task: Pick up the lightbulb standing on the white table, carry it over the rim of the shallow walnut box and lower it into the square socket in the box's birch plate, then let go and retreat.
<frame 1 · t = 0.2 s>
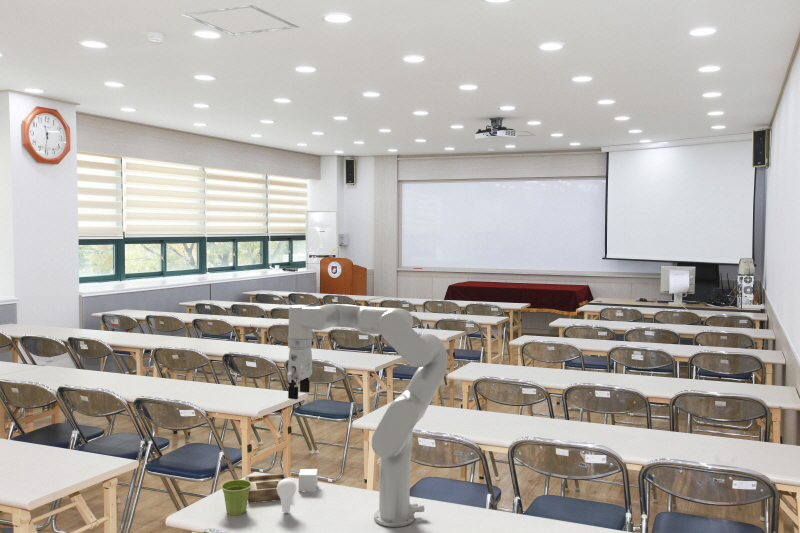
hand: (299, 395, 220), 36 cm above the table, tool pointing down, fingers open, 9 cm apart
lightbulb: (286, 513, 215), on the table
socket box: (267, 493, 231), on the table
plant pot: (236, 512, 216), on the table
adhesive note: (308, 489, 236), on the table
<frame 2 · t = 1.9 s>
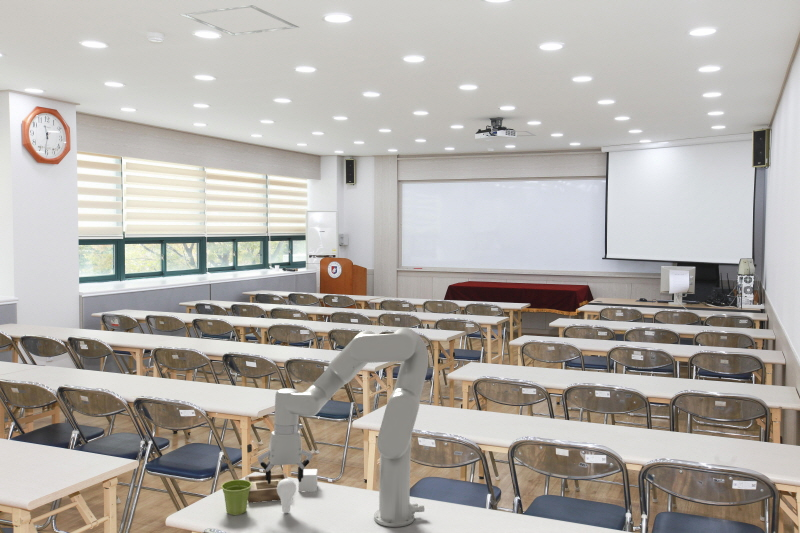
hand: (284, 481, 215), 10 cm above the table, tool pointing down, fingers open, 9 cm apart
nothing on the table moved.
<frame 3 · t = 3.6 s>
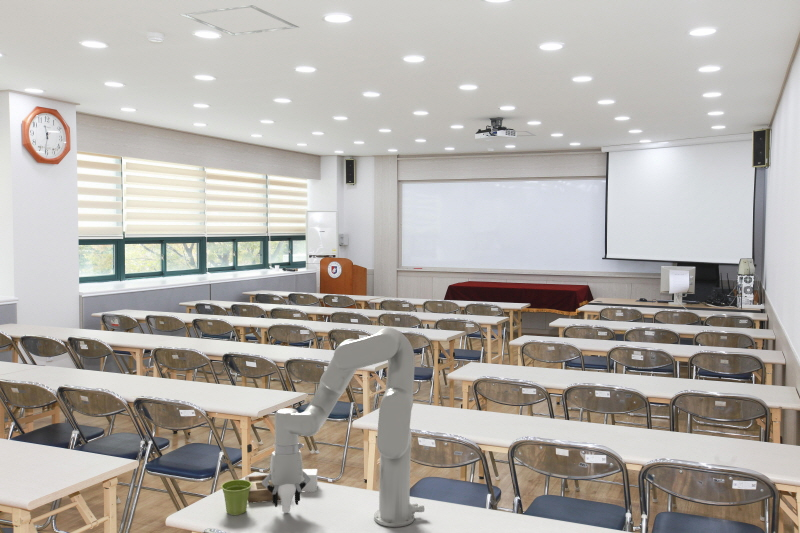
hand: (286, 503, 215), 3 cm above the table, tool pointing down, fingers closed on lightbulb, 5 cm apart
lightbulb: (286, 513, 215), on the table, touching gripper
everything else where it was.
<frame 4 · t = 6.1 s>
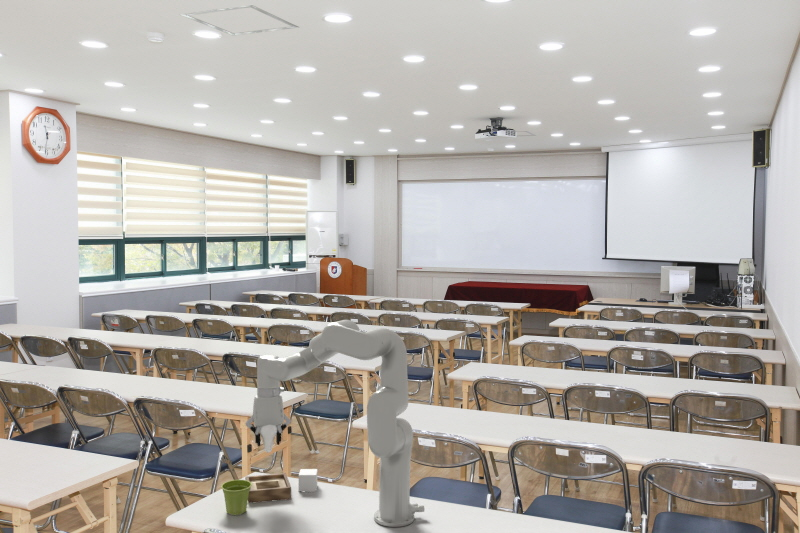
hand: (268, 443, 230), 17 cm above the table, tool pointing down, fingers closed on lightbulb, 5 cm apart
lightbulb: (268, 453, 231), point 14 cm above the table, touching gripper
everything else where it was.
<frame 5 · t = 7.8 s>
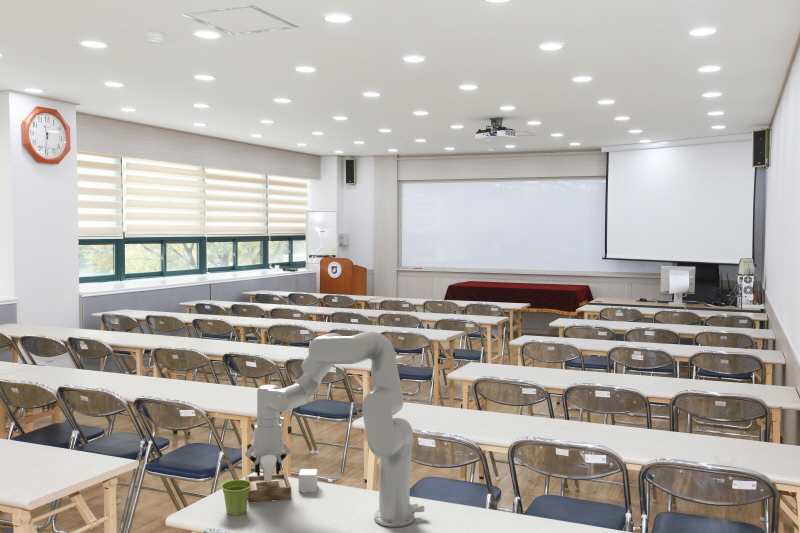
hand: (267, 473, 231), 7 cm above the table, tool pointing down, fingers closed on lightbulb, 5 cm apart
lightbulb: (267, 482, 231), point 4 cm above the table, touching gripper
everything else where it was.
when the fingers open (5 cm above the table, at t = 9.0 s): lightbulb drops 2 cm, resting on socket box.
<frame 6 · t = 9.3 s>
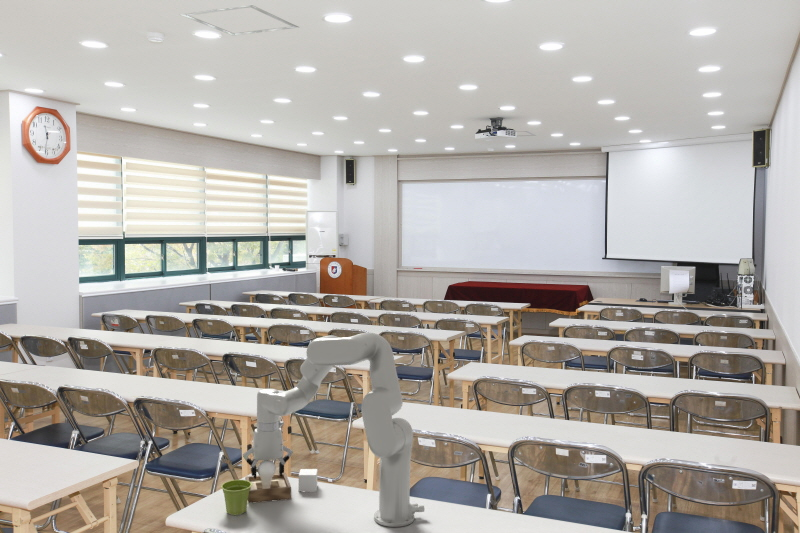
hand: (267, 476, 231), 6 cm above the table, tool pointing down, fingers open, 8 cm apart
lightbulb: (266, 492, 231), resting on socket box
everything else where it was.
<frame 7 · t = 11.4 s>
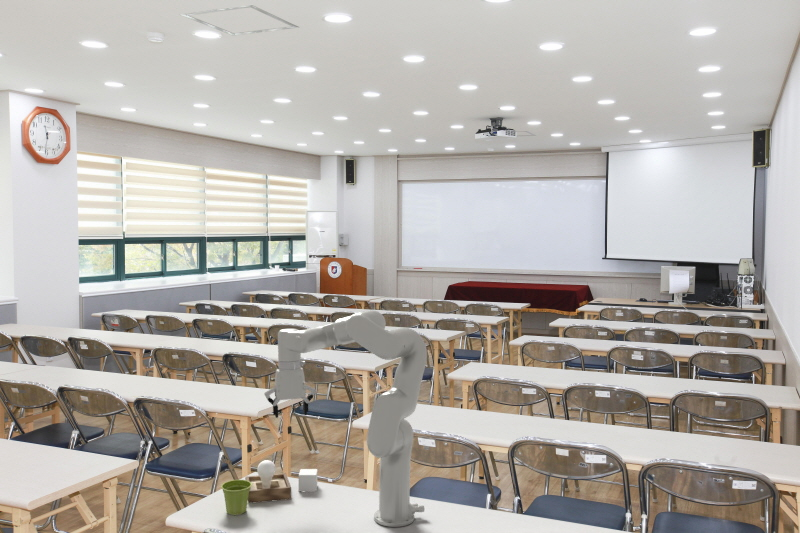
hand: (290, 415, 230), 27 cm above the table, tool pointing down, fingers open, 9 cm apart
nothing on the table moved.
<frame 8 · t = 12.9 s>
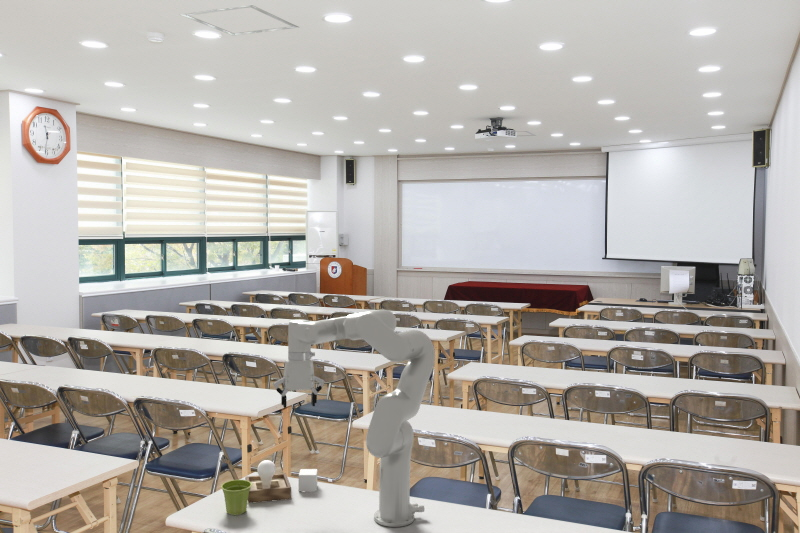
hand: (299, 406, 230), 30 cm above the table, tool pointing down, fingers open, 9 cm apart
nothing on the table moved.
at the end: lightbulb 0.5 cm off-centre on the socket box, point 0.3 cm above the socket box's base; the gripper is holding nothing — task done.
